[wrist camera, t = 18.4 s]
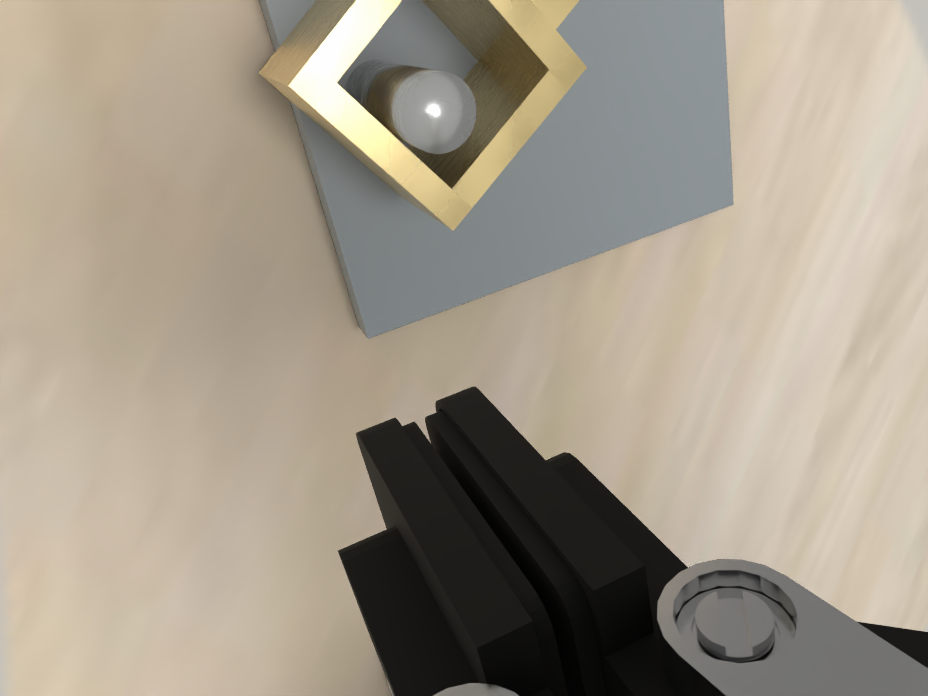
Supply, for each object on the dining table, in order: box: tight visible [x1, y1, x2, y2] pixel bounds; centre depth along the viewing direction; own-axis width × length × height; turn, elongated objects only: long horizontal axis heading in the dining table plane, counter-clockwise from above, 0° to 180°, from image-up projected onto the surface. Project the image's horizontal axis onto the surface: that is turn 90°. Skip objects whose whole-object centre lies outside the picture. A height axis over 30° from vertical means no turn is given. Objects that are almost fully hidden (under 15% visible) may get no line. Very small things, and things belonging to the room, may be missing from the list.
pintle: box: [345, 60, 476, 154], centre depth 27 cm, size 2×2×8 cm
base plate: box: [259, 0, 734, 339], centre depth 31 cm, size 20×19×2 cm
